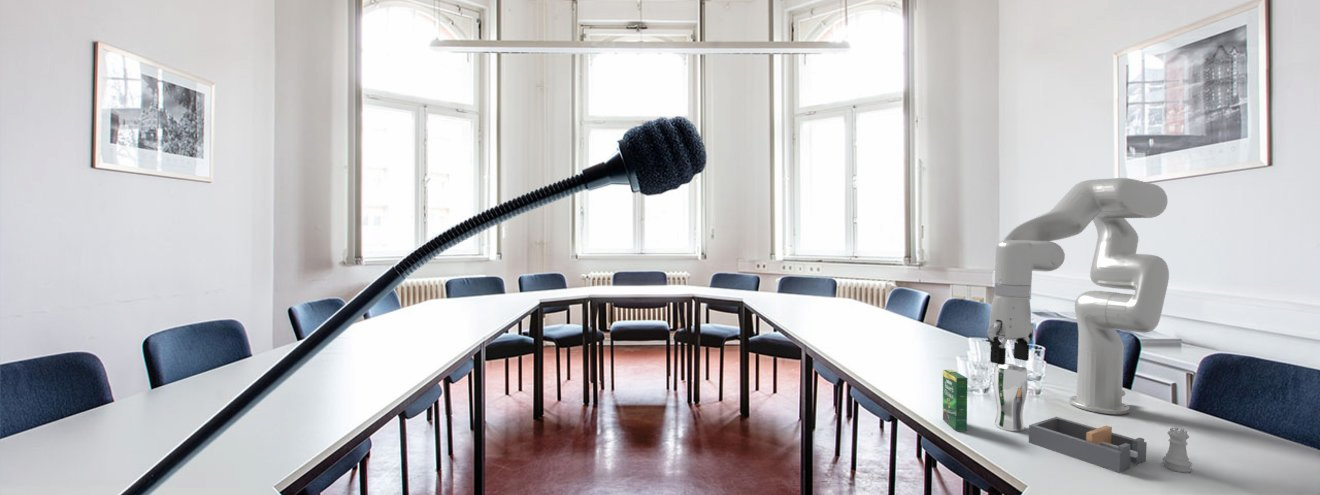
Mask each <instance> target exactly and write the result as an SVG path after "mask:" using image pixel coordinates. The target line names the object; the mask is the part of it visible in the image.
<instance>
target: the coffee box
mask: <svg viewBox="0 0 1320 495" xmlns="http://www.w3.org/2000/svg"><path fill="white" fill-rule="evenodd" d="M942 420H943V421H944V422H945V423H947V425H949V427H951V428H952V429H953V430H955V431H956V432H967V430H968V377H966V376H964V375H962V374H961V373H959V372H958V371H956V370H953V369H943V370H942Z"/></svg>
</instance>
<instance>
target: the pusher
mask: <svg viewBox="0 0 1320 495" xmlns="http://www.w3.org/2000/svg"><path fill="white" fill-rule="evenodd" d="M1112 427H1113V426H1110V425H1104V426H1101V427H1098V429H1095V430H1092V431H1089V432H1086V441H1088V442H1092V443H1095V444H1098V445H1101V446H1105V447H1108V448H1111V449H1114V450H1118V446H1116V445H1113V444H1111V437H1112V433H1113V430H1112ZM1130 456H1131V457H1134V458H1136V457H1138V452H1136V451H1133V450H1130Z"/></svg>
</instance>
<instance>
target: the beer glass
mask: <svg viewBox="0 0 1320 495" xmlns="http://www.w3.org/2000/svg"><path fill="white" fill-rule="evenodd" d="M994 367H995V368H994V371H993V372H994V373H993V374H994V375H993V389H994V396H995V402H996V417H995V421H994V425H995V427H997V428H998V429H1002V430H1004V431H1007V432H1023V431H1024V430H1025V424H1024V419H1023V418H1024V417H1023V416H1024V415H1023V413H1024V408H1025V403H1026V400H1027V394H1028V387H1029V386H1028V384H1029V382H1028V381H1029V379H1028V368H1027V367H1025V366H1023V365H1020V364H1014V363H1006V362H1005V364H1004V365H1001V364H996V363H995V365H994Z"/></svg>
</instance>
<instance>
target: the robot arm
mask: <svg viewBox="0 0 1320 495" xmlns="http://www.w3.org/2000/svg"><path fill="white" fill-rule="evenodd" d="M1167 206H1168V196H1167V192H1166V191H1165V190H1164V189H1163V188H1162V187H1161V186H1159V185H1157V184H1155V183H1150V182H1146V181H1143V180H1138V179H1134V178H1127V177H1117V178H1116V177H1113V178H1103V179H1102V178H1100V179H1097V178H1096V179H1088V180H1084V181H1083V180H1082V181H1080V182H1078V183H1076V184H1075V185H1074V186H1072V187H1071V189H1069V191H1068V192H1067V193H1065V195H1064V196H1063V197H1062V198H1061V199H1060V200H1059V201H1058V202H1057V203H1056V204H1055V205H1054V207H1053V208H1051V209H1050V211H1047V212H1045V213H1043V214H1041V215H1038V216H1036V217H1034V218H1032V219H1029V220H1027V221H1025V222H1023V223H1021V224H1019V225H1017V226H1016V227H1014V228H1013V229H1012V230H1011V231H1010V232H1008V233H1007V235H1006V236H1005V237H1004V238H1003V239H1002V241H1000V242H997V244H996V246H995V267H994V290H993V298H992V301H991V306H990V311H989V312H990V313H989V320H988V321H989V322H988V328H987V329H986V333H987V337H988V338H987V339H988V342H989V347H990V355H989V356H990V357H989V358H990V359H989V362H990V363H993V364H995V365H996V364H1001V365H1004V364H1005V363H1006V354H1007V353H1006V347H1005V346H1006V343H1007V342H1008V341H1010V340H1015V342H1014V343H1013V344H1014V345H1013V358H1014V359H1016V360H1020V361H1025V362H1027V361H1029V359H1030V358H1029V355H1030V344H1031V342H1032V341H1031V338H1032V337H1033V334H1032V333H1033V330H1034V325H1033V324H1032V322H1031V320H1032V314H1031V299H1032V280H1033V278H1032V277H1033V272H1053V271H1055V270H1057V269H1059V268H1060V267H1061V266H1062V265H1063V263H1064V261H1065V257H1066V256H1065V255H1066V254H1065V250H1064V249H1063V247H1062V246H1060V245H1059V244H1058V243H1056V242H1053V241H1060V240H1063V239H1067V238H1071V237H1074V236H1076V235H1077V236H1078V235H1079V234H1080V233H1082V232H1083V231H1084V230H1085V229H1086V228H1087V227H1088V225H1089V224H1090V223H1091V222H1093V223H1094V226H1095V229H1096V231H1097V241H1096V246H1095V250H1094V254H1093V258H1092V262H1091V266H1090V272H1089V273H1090V275H1089V277H1090V279H1091V282H1092V283H1093V284H1095V285H1096V286H1100V287H1104V288H1110V289H1118V290H1128V291H1129V290H1131V291H1135V292H1134V294H1131V293H1121V292H1115V291H1105V290H1104V291H1103V290H1090V291H1085V292H1083V293H1081V294H1079V295H1078V296H1077V297H1076V299H1075V303H1074V311H1075V317H1076V322H1077V331H1078V332H1077V334H1078V340H1077V341H1078V344H1077V345H1078V346H1077V370H1076V371H1077V373H1076V374H1077V375H1076V376H1077V377H1076V395H1073V396H1070V397H1069V404H1071V405H1072V406H1074V407H1076V408H1079V409H1081V410H1085V411H1088V412H1093V413H1099V414H1105V415H1126V414H1128V413H1129V412H1130V407H1129V406H1128V405H1127V404H1125V403H1123V397H1124V396H1125V395H1126V391H1125V390H1123V378H1124V351H1125V349H1124V348H1125V347H1124V346H1125V345H1124V343H1123V340H1122V338H1121V336H1120V334H1119V333H1118V331H1117V330H1121V331H1128V332H1134V333H1142V334H1145V333H1150V332H1153V331H1154V330H1155V329H1156V328H1157V327H1158V325H1159V322H1160V320H1161V315H1162V312H1163V307H1164V304H1165V298H1166V294H1167V290H1168V287H1169V286H1168V285H1169V278H1170V270H1169V267H1168V264H1167V262H1166V260H1164V258H1162V257H1160V256H1159V255H1158V256H1157V255H1155V254H1148V253H1147V254H1146V253H1137V250H1138V245H1139V235H1138V233H1137V231H1136V229H1135V228H1134V227H1133V226H1132V225H1131V224H1130V223H1129V221H1127V219H1151V218H1157V217H1158V216H1160V215H1161V214H1163V213H1164V212H1165V210H1166V209H1167Z"/></svg>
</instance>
